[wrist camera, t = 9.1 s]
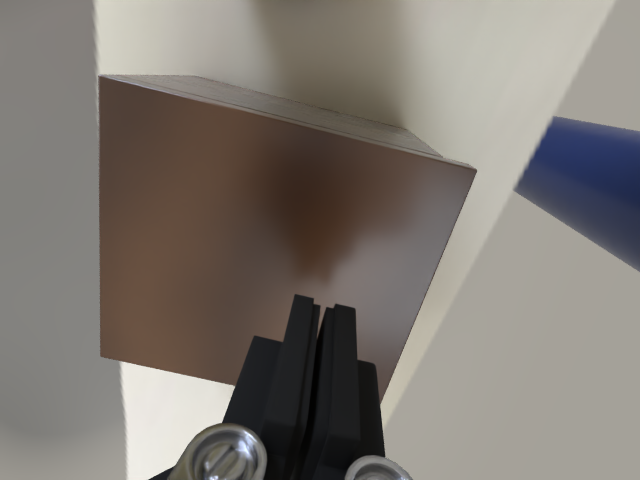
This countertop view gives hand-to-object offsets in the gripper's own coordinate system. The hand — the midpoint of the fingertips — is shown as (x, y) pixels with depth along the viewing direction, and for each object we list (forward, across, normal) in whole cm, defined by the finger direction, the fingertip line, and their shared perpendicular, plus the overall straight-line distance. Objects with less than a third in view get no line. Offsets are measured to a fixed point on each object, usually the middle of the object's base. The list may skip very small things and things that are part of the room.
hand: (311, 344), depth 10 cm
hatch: (+4, +2, 0) cm, 4 cm away
